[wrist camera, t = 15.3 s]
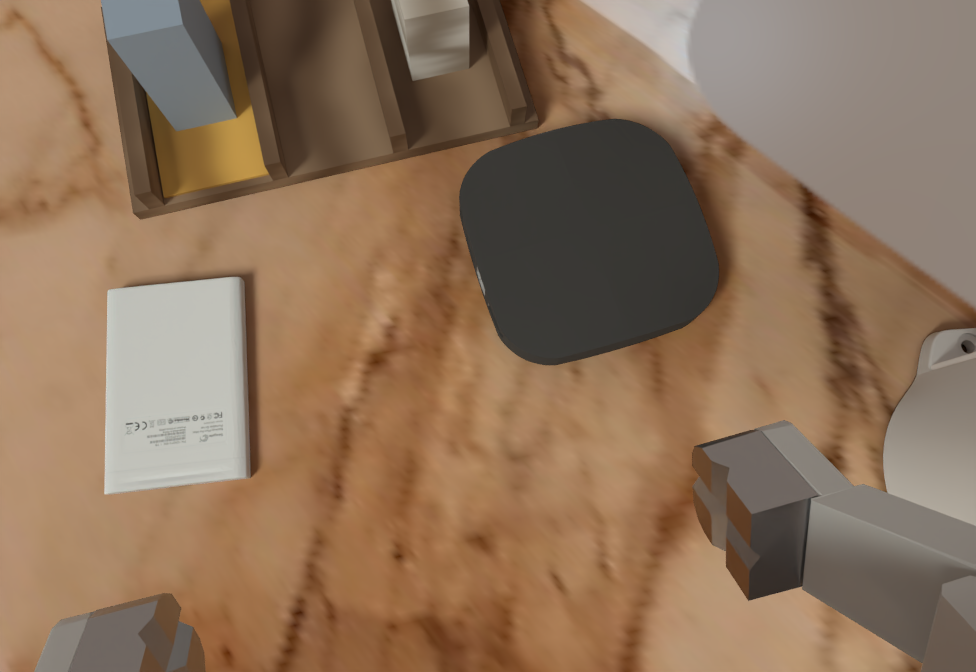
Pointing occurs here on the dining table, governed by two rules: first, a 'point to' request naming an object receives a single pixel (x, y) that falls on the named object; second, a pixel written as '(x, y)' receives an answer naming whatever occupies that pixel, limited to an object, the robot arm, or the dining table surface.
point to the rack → (326, 96)
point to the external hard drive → (176, 385)
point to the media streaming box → (586, 240)
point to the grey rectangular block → (173, 58)
